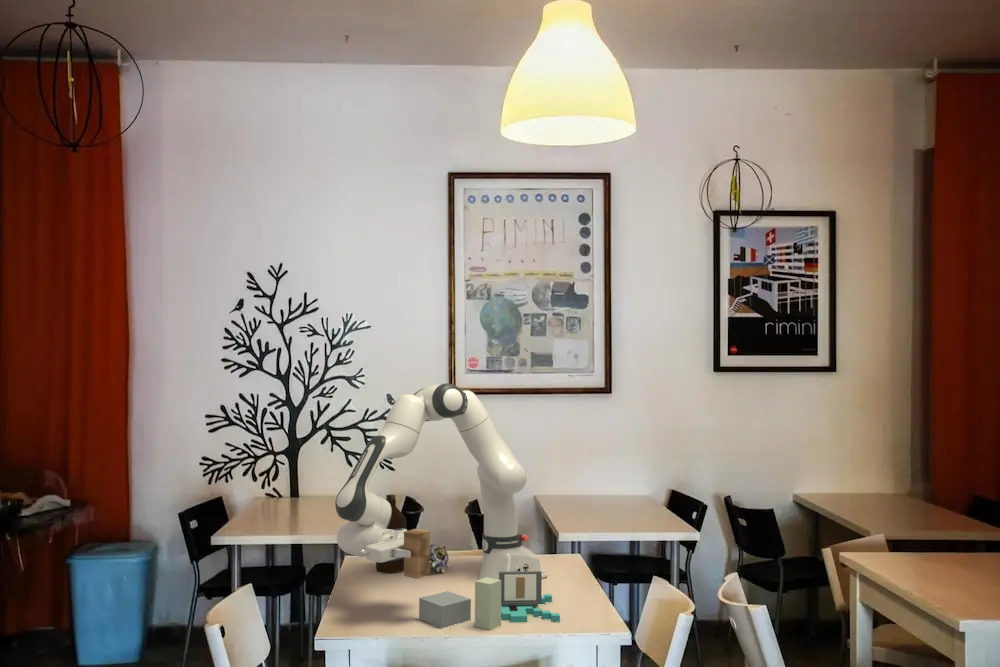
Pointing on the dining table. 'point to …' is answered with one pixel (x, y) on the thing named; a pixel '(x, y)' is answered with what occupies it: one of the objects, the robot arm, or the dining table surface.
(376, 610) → the dining table surface
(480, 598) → the sage block
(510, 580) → the grey picture frame
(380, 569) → the olive oil
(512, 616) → the alien figure
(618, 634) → the dining table surface
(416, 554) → the walnut block
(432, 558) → the passion flower
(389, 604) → the dining table surface
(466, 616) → the slate base block
